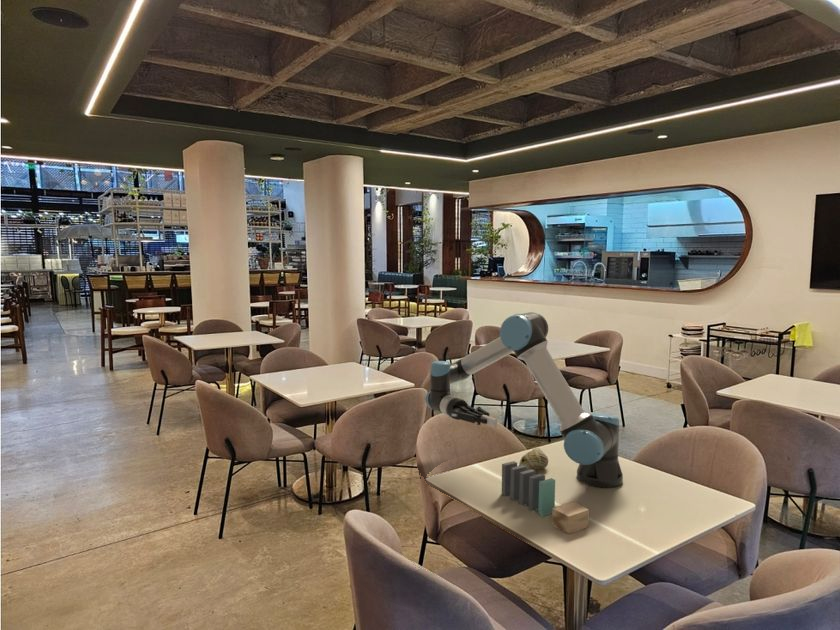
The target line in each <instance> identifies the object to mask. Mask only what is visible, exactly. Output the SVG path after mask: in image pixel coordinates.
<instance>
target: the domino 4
mask: <svg viewBox="0 0 840 630" xmlns="http://www.w3.org/2000/svg"><path fill="white" fill-rule="evenodd" d="M543 480H546V475H545V474H543V473H539V474H535V475H534V476H531V477H529V504H528V510H530V511H532V512H533V511H536V509H537V510H538V509H539V481H543Z"/></svg>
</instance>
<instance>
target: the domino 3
mask: <svg viewBox="0 0 840 630" xmlns="http://www.w3.org/2000/svg"><path fill="white" fill-rule="evenodd" d="M534 475H536V470H532V469H531V470H527V471H523V472H520V488H519V499H518V501H519V502H518V503H519V505H521V506H525V505H529V477H531V476H534Z"/></svg>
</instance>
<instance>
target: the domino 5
mask: <svg viewBox="0 0 840 630" xmlns="http://www.w3.org/2000/svg"><path fill="white" fill-rule="evenodd" d="M555 501H556V479H554V478H547V479H545V480H543V481H539V509H537V510H538V515H539V516H541V517H544V516H547V515H550V514H551V515H552V514H553V508H555V506H556V505H555V504H556V502H555Z"/></svg>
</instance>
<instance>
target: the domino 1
mask: <svg viewBox="0 0 840 630" xmlns="http://www.w3.org/2000/svg"><path fill="white" fill-rule="evenodd" d="M517 466H518V462H516V460H513V461H510V462H509V461H508V462H505V463H501V495H503V496H505V495H506V496H510V482H511V468H513V467H517Z"/></svg>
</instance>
